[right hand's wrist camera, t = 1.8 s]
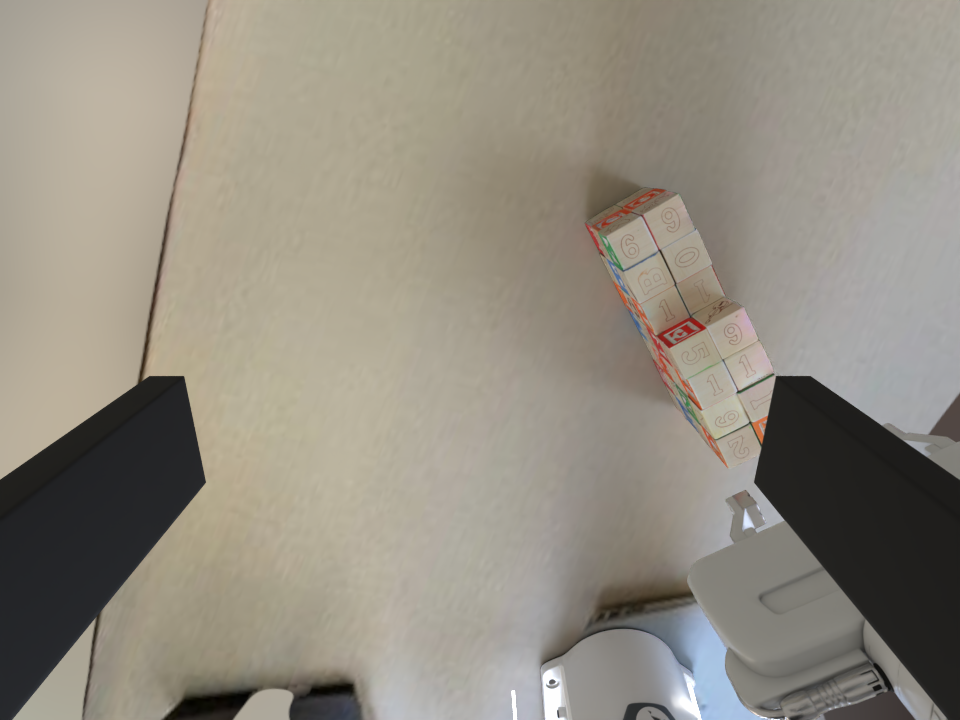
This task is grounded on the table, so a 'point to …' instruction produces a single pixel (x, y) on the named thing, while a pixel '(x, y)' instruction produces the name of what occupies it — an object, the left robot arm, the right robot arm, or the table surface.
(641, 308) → the stack of blocks
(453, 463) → the table surface
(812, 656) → the left robot arm
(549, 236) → the table surface
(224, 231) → the table surface
